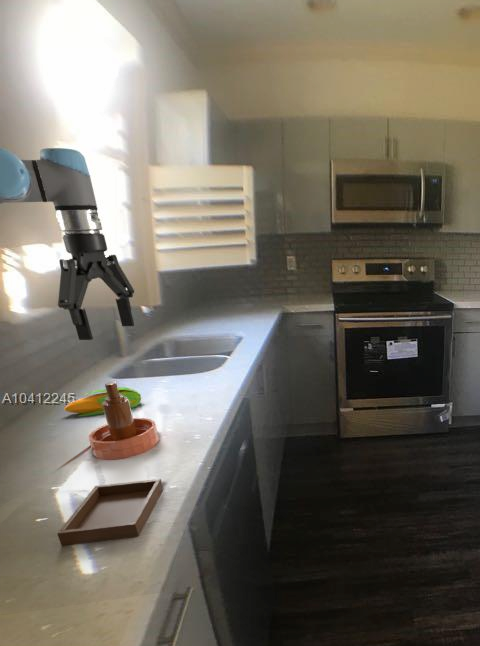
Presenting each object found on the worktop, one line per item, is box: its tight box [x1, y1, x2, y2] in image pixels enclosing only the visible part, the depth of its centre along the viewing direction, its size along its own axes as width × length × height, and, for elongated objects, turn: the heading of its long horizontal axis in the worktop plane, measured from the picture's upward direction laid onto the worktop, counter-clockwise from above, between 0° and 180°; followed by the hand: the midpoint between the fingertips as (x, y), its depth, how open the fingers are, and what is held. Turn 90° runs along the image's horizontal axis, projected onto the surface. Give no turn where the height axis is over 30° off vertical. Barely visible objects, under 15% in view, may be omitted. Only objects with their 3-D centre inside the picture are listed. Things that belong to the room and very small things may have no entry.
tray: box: [56, 478, 164, 547], centre depth 87 cm, size 16×13×3 cm
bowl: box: [88, 417, 160, 461], centre depth 113 cm, size 14×14×5 cm
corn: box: [64, 386, 142, 418], centre depth 135 cm, size 7×8×20 cm
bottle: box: [102, 381, 137, 441], centre depth 111 cm, size 6×6×16 cm
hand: (108, 332), depth 104 cm, fingers open, 13 cm apart
